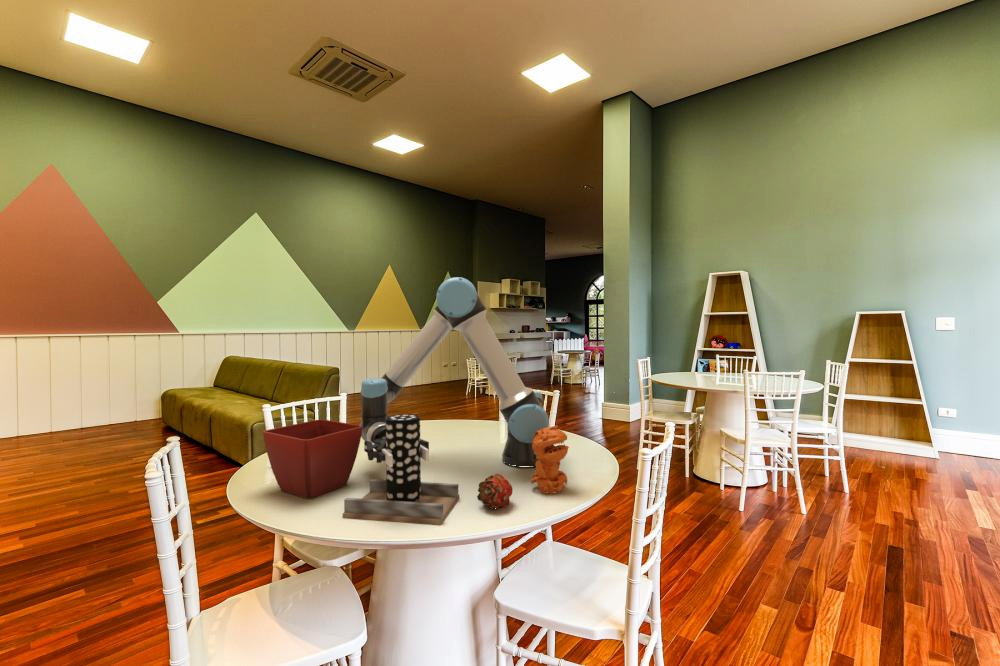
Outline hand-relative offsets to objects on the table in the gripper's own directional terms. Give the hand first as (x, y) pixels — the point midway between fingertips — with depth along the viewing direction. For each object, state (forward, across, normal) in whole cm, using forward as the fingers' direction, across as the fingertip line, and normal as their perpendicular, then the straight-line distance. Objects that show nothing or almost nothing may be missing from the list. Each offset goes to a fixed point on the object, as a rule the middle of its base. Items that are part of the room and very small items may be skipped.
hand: (409, 458), depth 108 cm
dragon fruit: (+6, -20, -14) cm, 25 cm away
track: (-5, 0, -14) cm, 14 cm away
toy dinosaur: (+4, -38, -14) cm, 41 cm away
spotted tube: (-5, 0, -11) cm, 12 cm away
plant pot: (-31, +17, -14) cm, 38 cm away
